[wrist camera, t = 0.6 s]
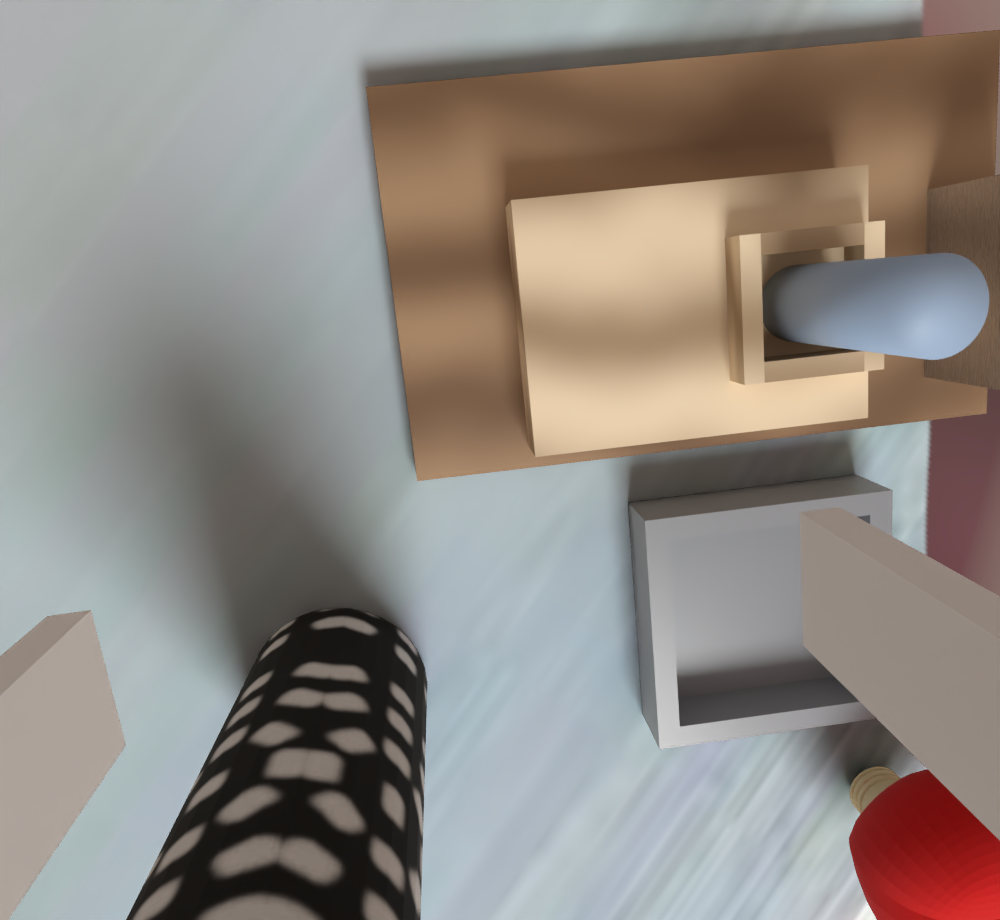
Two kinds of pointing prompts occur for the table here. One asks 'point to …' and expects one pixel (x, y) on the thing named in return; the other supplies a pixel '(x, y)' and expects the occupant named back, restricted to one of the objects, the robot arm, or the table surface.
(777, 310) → the dowel
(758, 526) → the tray
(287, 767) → the spotted tube
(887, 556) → the robot arm
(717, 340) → the wooden block with recess
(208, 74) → the table surface
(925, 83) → the board
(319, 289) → the table surface
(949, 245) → the block
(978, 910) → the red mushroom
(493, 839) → the table surface
